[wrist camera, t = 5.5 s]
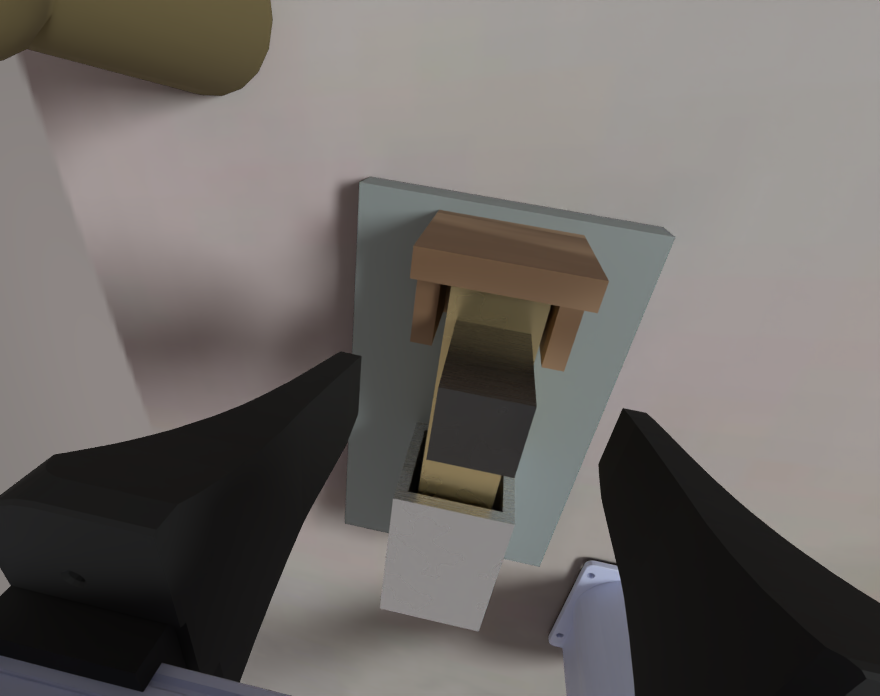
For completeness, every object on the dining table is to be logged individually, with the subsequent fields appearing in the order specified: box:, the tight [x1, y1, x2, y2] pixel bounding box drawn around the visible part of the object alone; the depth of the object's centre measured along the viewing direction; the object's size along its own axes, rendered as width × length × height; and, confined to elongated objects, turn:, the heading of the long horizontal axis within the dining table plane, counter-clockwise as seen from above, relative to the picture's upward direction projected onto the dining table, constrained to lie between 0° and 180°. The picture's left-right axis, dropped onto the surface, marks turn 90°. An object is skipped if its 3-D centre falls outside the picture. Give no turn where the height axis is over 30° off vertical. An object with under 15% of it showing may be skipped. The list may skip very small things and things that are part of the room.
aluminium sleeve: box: [380, 422, 515, 632], centre depth 22 cm, size 8×5×5 cm, turn 172°
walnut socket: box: [410, 210, 609, 372], centre depth 16 cm, size 4×6×5 cm
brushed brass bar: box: [418, 286, 551, 510], centre depth 16 cm, size 12×3×7 cm, turn 172°
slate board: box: [345, 177, 675, 567], centre depth 22 cm, size 20×12×2 cm, turn 172°
